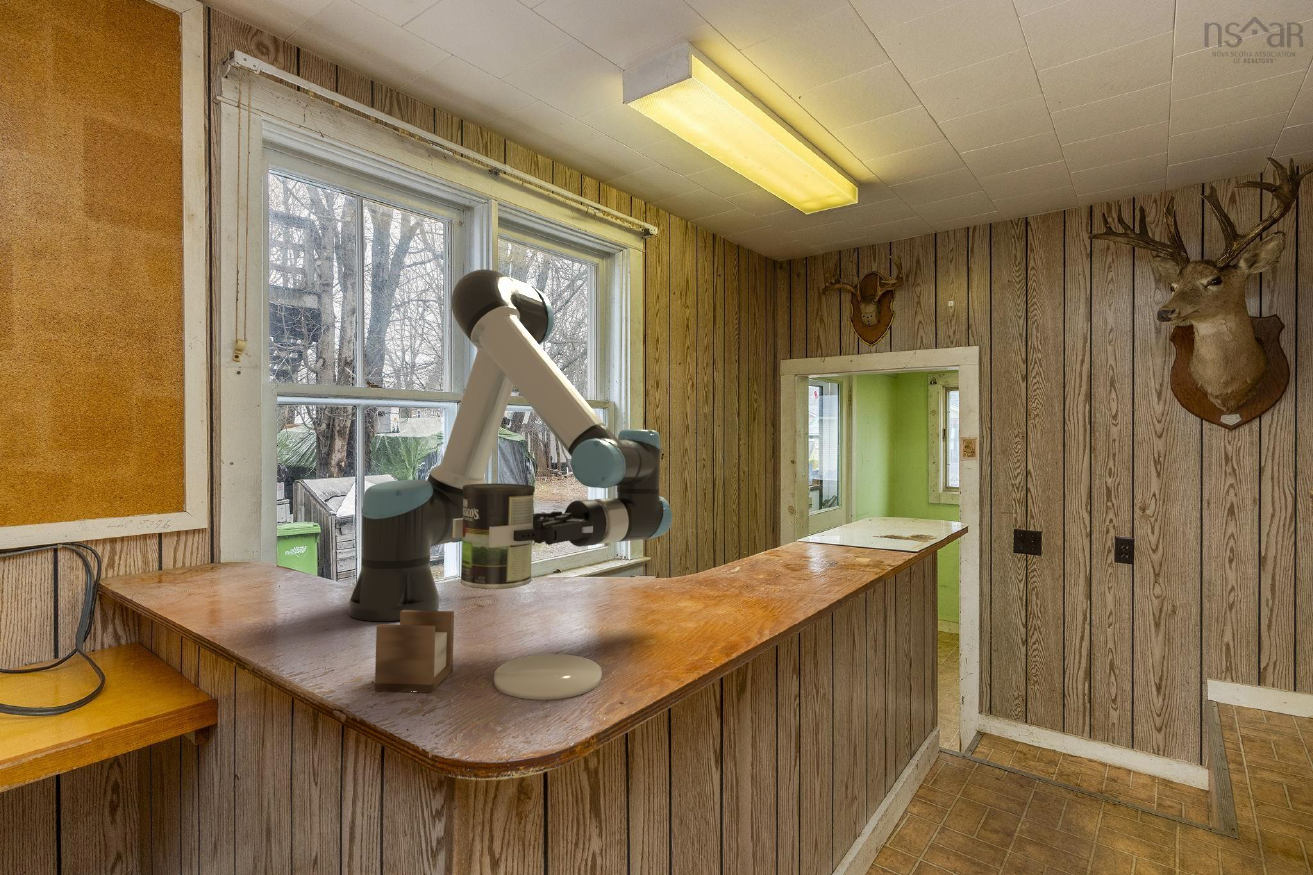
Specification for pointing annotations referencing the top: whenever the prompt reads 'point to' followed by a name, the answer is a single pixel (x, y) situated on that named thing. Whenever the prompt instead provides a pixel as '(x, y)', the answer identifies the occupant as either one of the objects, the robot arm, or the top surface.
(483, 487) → the coffee can
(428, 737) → the top surface
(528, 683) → the disc
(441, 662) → the napkin caddy
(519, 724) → the top surface
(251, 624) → the top surface
